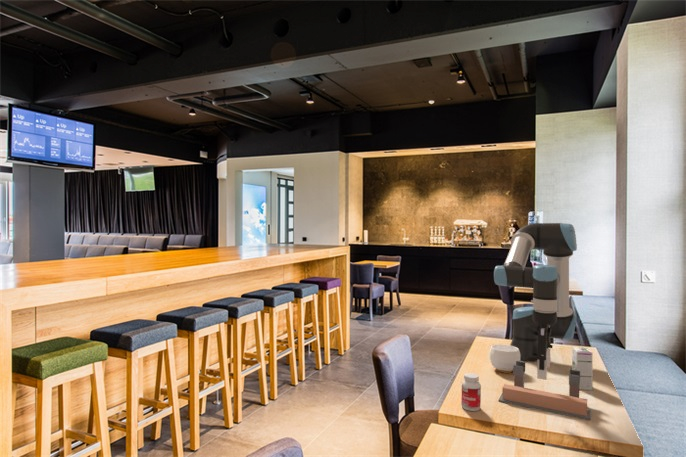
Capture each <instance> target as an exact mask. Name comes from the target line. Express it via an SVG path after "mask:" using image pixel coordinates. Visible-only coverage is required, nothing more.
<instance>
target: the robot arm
mask: <svg viewBox="0 0 686 457" xmlns="http://www.w3.org/2000/svg"><path fill="white" fill-rule="evenodd" d="M575 230H576V229H575V227H574V225H573V224H571V223H564V222H549V223H548V222H543V223H541V222H537V223H536V222H533V223H528V224H526V225H524V226H522V227H521V228H519V229H518V230H517V231H516V232H515V233H514V234H513V235H512V237H511V240H510V248H509V252H508V253H507V257H506V259H505V261H504V263H503V265H496V266H495V267H494V270H493V281H494V285H497V286H502V287H512V288H513V287H514V288H515V287H516V288H525V289H526V288H527V289H532V299H531V300H530V303H532V306H522V307H517V308H515V309H514V310H513V311H512V318H511V319H512V339H511V342H510V344H509V345H511V346H514V347H517V348H518V349H519V351H520V361H523V362H525V361H526V362H537V367H536V368H537V369H536V370H537V372H536V375H537V376H536V378H537V379H538V380H545V381H547V377H548V376H547V372H548V371H547V369H548V368H551V349H553V347H554V346H553V345H552V341H551V339H558V340H562V341H563V340H568V341H569V340H572V339H574V335H575V330H576V323H577V314H575V313H574V310H573V309H572V308H571V307H570V258H571V257H572V256H573V255H574V252H575V251H577V249H578V244H577V236H576V231H575ZM533 250H539V251H540V250H541V251H542V252H543V255H544V256H545V257H546V264H536V265H535V266H533V267H529V266H528V267H526V264H527V262H528V259H529V255H530V252H531V251H533Z"/></svg>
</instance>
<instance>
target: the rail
mask: <svg viewBox="0 0 686 457" xmlns="http://www.w3.org/2000/svg"><path fill="white" fill-rule="evenodd" d="M501 389H502V390H501V392H502V393H501V394H502V399H505V400H510V401H515V402H520V403H525V404H530V405H535V406H540V407H545V408H550V409H555V410H560V411H565V412H569V413H574V414H579V415H584V416H587V410H588V399H587V398H584V397H583V398H582V397H579V398H577V397H572V396H569V395H566V394H561V393H556V392H555V393H554V392H549V391H544V390H537V389H533V388H527V387H524V388H523V387H518V386H514V385H511V384H506V383H504V384H503V386H502V388H501Z"/></svg>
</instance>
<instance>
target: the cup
mask: <svg viewBox="0 0 686 457" xmlns="http://www.w3.org/2000/svg"><path fill="white" fill-rule="evenodd" d="M489 360H490V363H491V365H492V366H493V368H495V369H496V370H497V371H498V372H500V373H506V374H510V373H511V372H512V373H513V366H514V365H516V361H521V360H520V351H519V349H518V348H517V347H514V346H511V345H510V344H502V343H501V344H500V343H498V344H497V343H496V344H492V345H491V346H490V349H489Z"/></svg>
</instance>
